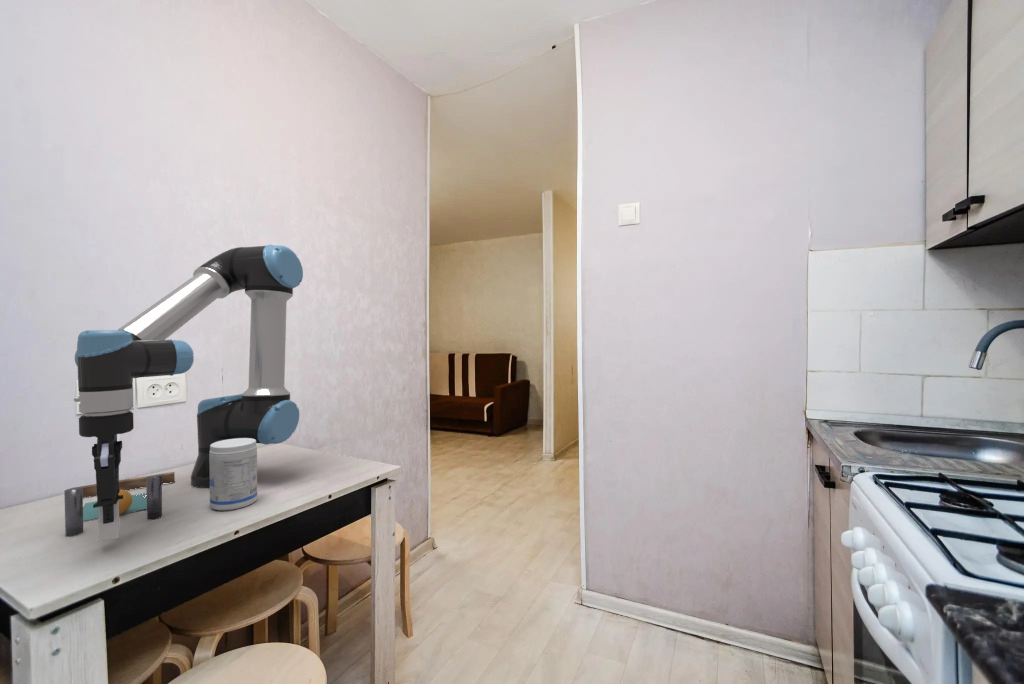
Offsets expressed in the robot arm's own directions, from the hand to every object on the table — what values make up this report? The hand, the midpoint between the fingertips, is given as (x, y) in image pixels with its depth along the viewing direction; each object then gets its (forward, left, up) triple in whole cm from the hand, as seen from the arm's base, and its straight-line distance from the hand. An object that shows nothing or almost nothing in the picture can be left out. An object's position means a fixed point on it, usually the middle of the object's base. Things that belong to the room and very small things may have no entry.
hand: (109, 537), depth 83 cm
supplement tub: (-21, -11, -2) cm, 24 cm away
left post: (+6, -13, -2) cm, 15 cm away
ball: (0, -20, +1) cm, 20 cm away
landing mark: (0, -27, -2) cm, 27 cm away
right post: (-6, -13, -2) cm, 15 cm away
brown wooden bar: (0, -41, -2) cm, 41 cm away
